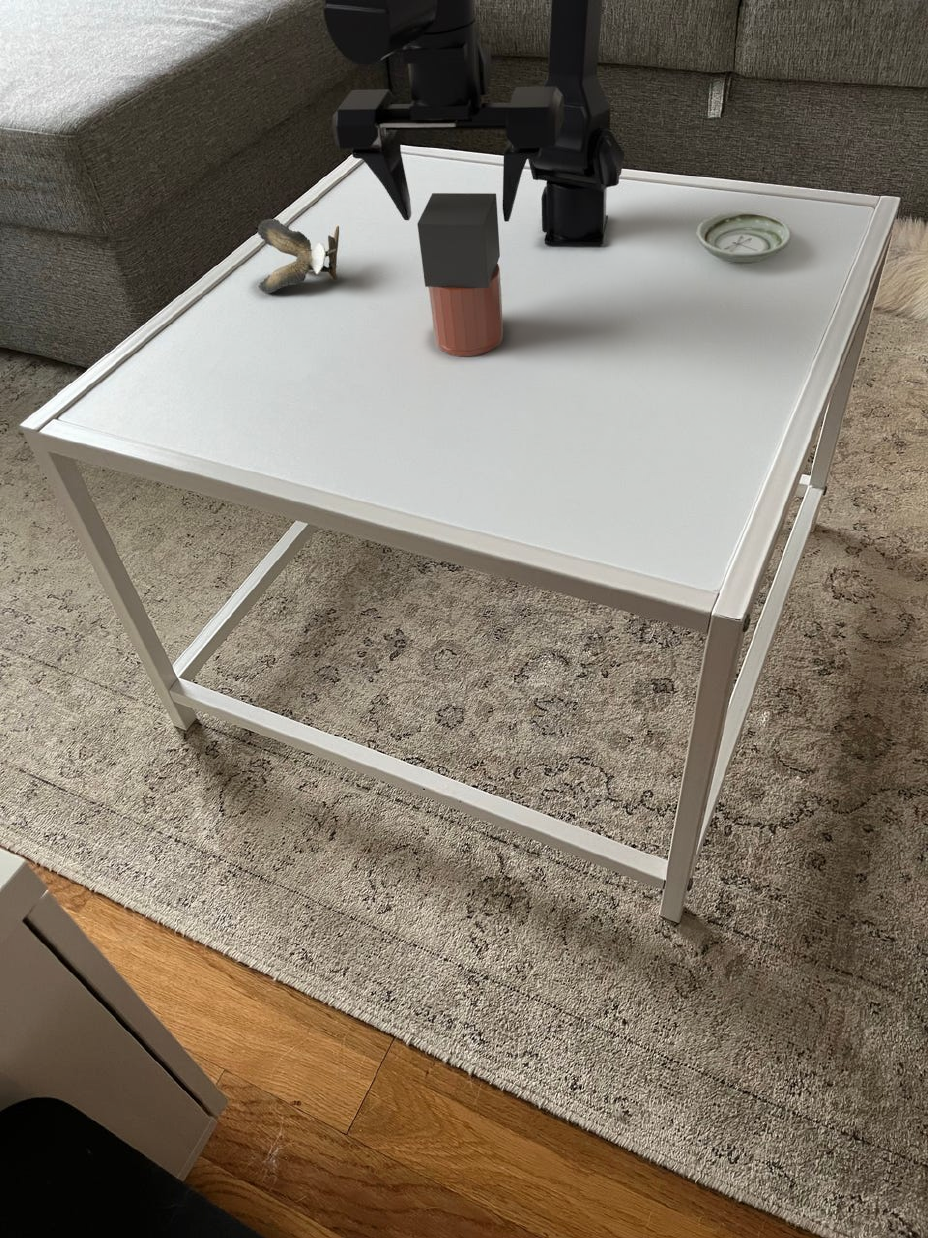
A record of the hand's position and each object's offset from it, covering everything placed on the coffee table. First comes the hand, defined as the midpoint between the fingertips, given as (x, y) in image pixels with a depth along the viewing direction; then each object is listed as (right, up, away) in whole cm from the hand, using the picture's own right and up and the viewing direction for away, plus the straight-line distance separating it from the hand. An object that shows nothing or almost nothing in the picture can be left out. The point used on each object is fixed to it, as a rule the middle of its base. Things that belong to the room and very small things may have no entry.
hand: (457, 218), depth 84 cm
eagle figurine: (-17, +1, +20) cm, 26 cm away
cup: (+1, -8, +9) cm, 12 cm away
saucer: (+30, +3, +15) cm, 34 cm away
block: (+1, -3, +4) cm, 5 cm away
